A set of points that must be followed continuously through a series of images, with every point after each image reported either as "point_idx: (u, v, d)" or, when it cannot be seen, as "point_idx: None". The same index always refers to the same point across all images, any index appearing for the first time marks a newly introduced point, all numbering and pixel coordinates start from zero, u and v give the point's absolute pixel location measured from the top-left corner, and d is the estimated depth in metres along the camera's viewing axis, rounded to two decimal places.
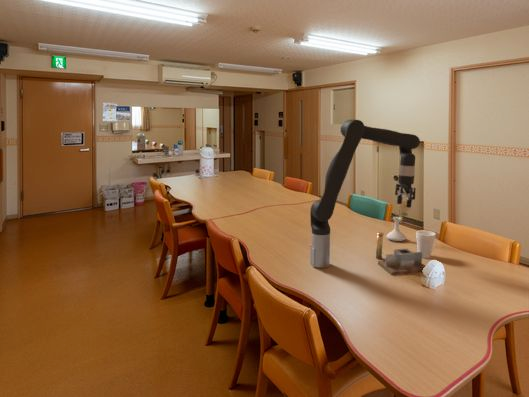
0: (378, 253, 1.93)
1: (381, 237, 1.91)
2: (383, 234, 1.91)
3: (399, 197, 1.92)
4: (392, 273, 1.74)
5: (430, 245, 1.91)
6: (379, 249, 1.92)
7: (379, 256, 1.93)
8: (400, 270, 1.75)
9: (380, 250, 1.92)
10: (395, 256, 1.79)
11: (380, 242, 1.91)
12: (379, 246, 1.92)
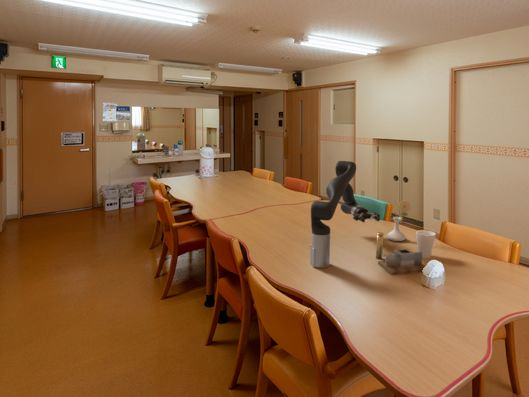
0: (378, 253, 1.93)
1: (381, 237, 1.91)
2: (383, 234, 1.91)
3: None
4: (392, 273, 1.74)
5: (430, 245, 1.91)
6: (379, 249, 1.92)
7: (379, 256, 1.93)
8: (400, 270, 1.75)
9: (380, 250, 1.92)
10: (395, 256, 1.79)
11: (380, 242, 1.91)
12: (379, 246, 1.92)
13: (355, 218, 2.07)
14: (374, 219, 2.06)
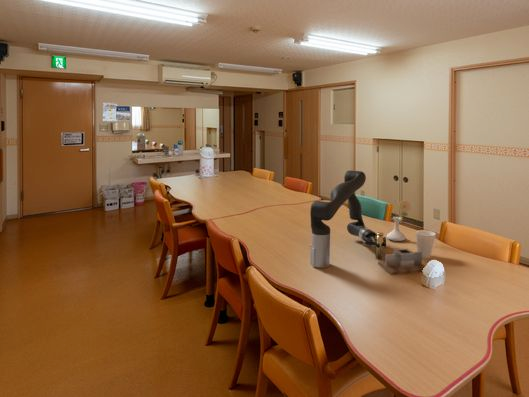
0: (378, 253, 1.93)
1: (381, 237, 1.91)
2: (383, 234, 1.90)
3: None
4: (392, 273, 1.74)
5: (430, 245, 1.91)
6: (379, 249, 1.92)
7: (379, 256, 1.93)
8: (400, 270, 1.75)
9: (380, 250, 1.92)
10: (395, 256, 1.79)
11: (380, 243, 1.91)
12: None
13: (367, 243, 1.96)
14: None
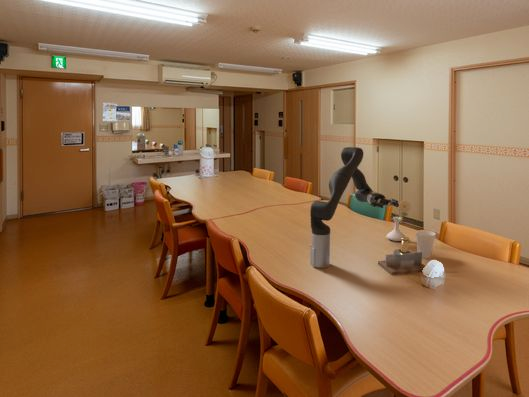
0: None
1: (406, 242, 1.78)
2: (408, 239, 1.78)
3: None
4: (392, 273, 1.74)
5: (430, 245, 1.91)
6: None
7: None
8: (400, 270, 1.75)
9: None
10: (395, 256, 1.79)
11: (405, 248, 1.78)
12: (404, 252, 1.79)
13: None
14: (392, 205, 1.97)
